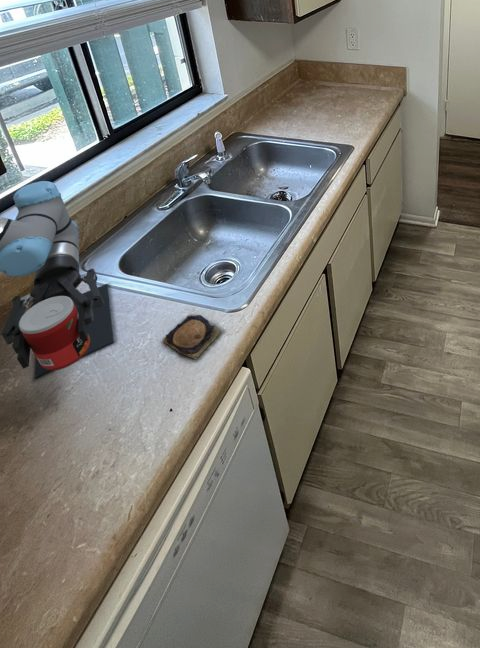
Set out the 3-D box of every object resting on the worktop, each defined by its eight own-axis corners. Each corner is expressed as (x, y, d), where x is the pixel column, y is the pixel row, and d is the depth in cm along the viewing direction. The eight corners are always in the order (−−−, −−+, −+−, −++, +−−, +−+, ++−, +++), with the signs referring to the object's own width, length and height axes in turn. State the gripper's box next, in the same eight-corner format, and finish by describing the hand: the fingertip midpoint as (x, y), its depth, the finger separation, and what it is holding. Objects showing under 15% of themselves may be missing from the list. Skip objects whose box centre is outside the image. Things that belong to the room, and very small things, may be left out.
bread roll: (224, 331, 100) (221, 320, 99) (193, 363, 94) (190, 351, 92) (192, 314, 105) (188, 303, 103) (160, 342, 98) (156, 331, 96)
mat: (35, 378, 91) (34, 377, 91) (40, 312, 106) (39, 310, 105) (113, 342, 98) (113, 341, 98) (107, 285, 113) (106, 283, 113)
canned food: (91, 357, 83) (72, 317, 78) (39, 380, 79) (15, 339, 74) (91, 327, 89) (73, 288, 84) (42, 347, 85) (20, 308, 80)
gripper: (118, 261, 101) (127, 333, 84) (2, 304, 91) (-14, 396, 74) (108, 236, 98) (115, 305, 81) (-13, 277, 87) (-34, 368, 70)
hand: (54, 348), depth 77 cm, fingers closed on canned food, 8 cm apart
